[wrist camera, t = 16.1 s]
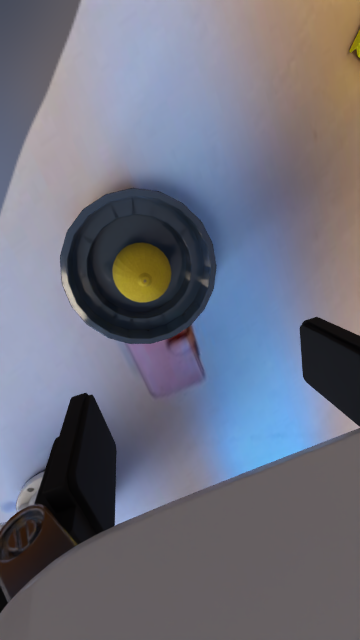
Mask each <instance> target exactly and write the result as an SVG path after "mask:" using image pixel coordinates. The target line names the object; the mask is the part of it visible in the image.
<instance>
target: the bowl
mask: <svg viewBox="0 0 360 640" xmlns="http://www.w3.org/2000/svg"><path fill="white" fill-rule="evenodd" d="M142 242H143V243H148V244H151V245H153V246H155V247H157V248H158V249H160V250H161V251H162V252H163V253H164V254H165V256H166V257H167V259H168V261H169V264H170V267H171V280H170V283H169V286H168V288H167V290H166V291H165V292H164V294H163V295H161V296H160V297H159V298H157V299H155V300H153V301H150V302H136V301H132V300H130V299H129V298H127V297H125V296H124V295H123V294H122V293H121V292H120V291H119V290H118V288H117V287H116V285H115V282H114V279H113V271H112V269H113V263H114V261H115V259H116V256H117V255H118V254H119V252H120V251H121V250H122V249H123V248H125V247H126V246H128V245H131V244H134V243H142ZM60 266H61V280H62V285H63V287H64V290H65V292H66V295H67V297H68V299H69V302H70V304H71V306H72V308H73V309H74V310H75V311H76V312H77V313H78V315H79V316H80V317H81V318H82V319H83V320H84V322H85V323H86V324H87V325H88V326H90V327H91V328H93V329H95V330H96V331H98V332H99V333H101V334H102V335H104V336H106V337H108V338H111V339H114V340H118V341H121V342H125V343H128V344H151V343H155V342H158V341H162V340H165V339H168V338H172V337H173V336H175V335H177V334H178V333H180V332H181V331H183V330H184V329H186V328H187V327H189V326H190V325H191V324H192V323H193V322H194V321H195V320H196V318H197V317H198V316H199V315H200V314H201V313H202V311H203V310H204V309H205V307H206V305H207V302H208V300H209V298H210V296H211V294H212V291H213V289H214V282H215V274H216V261H215V255H214V249H213V244H212V241H211V239H210V237H209V235H208V233H207V231H206V229H205V228H204V226H203V224H202V222H201V221H200V220H199V219H198V218H197V217H196V216H195V215H194V214H193V213H192V212H191V211H190V210H189V209H188V208H187V207H186V206H185V205H184V204H183V203H182V202H180V201H178V200H176V199H174V198H172V197H170V196H168V195H166V194H163V193H161V192H159V191H151V190H143V189H135V188H133V189H132V188H131V189H127V190H122V191H118V192H114V193H109V194H106V195H104V196H102V197H101V198H99V199H98V200H96V201H95V202H93V203H92V204H90V205H89V206H87V207H86V208H84V209H83V210H82V211H81V213H80V214H79V216H78V217H77V218H76V220H75V221H74V222H73V224H72V225H71V227H70V228H69V229H68V232H67V233H66V237H65V240H64V244H63V247H62V251H61V255H60Z"/></svg>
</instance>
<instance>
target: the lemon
mask: <svg viewBox="0 0 360 640" xmlns="http://www.w3.org/2000/svg"><path fill="white" fill-rule="evenodd" d="M112 271H113V279H114V282H115V285H116V287H117V288H118V290H119V291H120V292H121V293H122V294H123V295H124V296H125V297H127V298H129V299H130V300H132V301H136V302H150V301H153V300H155V299H157V298H159V297H160V296H161V295H163V294H164V292H165V291H166V290H167V288H168V286H169V283H170V280H171V267H170V264H169V261H168V259H167V257H166V256H165V254H164V253H163V252H162V251H161V250H160V249H158V248H157V247H155V246H153V245H151V244H148V243H143V242H142V243H134V244H131V245H128V246H126V247H125V248H123V249H122V250H121V251H120V252H119V254H118V255H117V256H116V259H115V261H114V263H113V269H112Z"/></svg>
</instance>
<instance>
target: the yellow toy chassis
mask: <svg viewBox="0 0 360 640" xmlns="http://www.w3.org/2000/svg"><path fill="white" fill-rule="evenodd" d="M355 49H356V50H357V56H358V57H359V58H360V30H359V32H358V34H357V36H356V38H355V40H354V42H353V44H352V46H351V48H350V51H349V52H350V53H351V52H352V51H354V50H355Z"/></svg>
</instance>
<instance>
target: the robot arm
mask: <svg viewBox="0 0 360 640" xmlns="http://www.w3.org/2000/svg"><path fill="white" fill-rule="evenodd" d="M300 339H301V354H302V369H303V377H304V379H305V381H306V382H307V383H308V384H309V385H310V386H312V387H313V388H314V389H315V390H316V391H318V392H319V393H320V394H321V395H322V396H324V397H325V398H326V399H327V400H328V401H330V402H331V403H332V404H333V405H334V406H336V407H337V408H338V409H339V410H340V411H342V412H343V413H344V414H345V415H346V416H348V417H349V418H350V419H351V420H352V421H354V422H355V423H356V424H357V425H358V426H360V336H359V335H356V334H354V333H352V332H350V331H348V330H345V329H343V328H341V327H339V326H336V325H334V324H332V323H330V322H327V321H325V320H323V319H321V318H318V317H315V318H312V319H309V320H305V321H304V322H303V323H302V325H301V326H300ZM116 453H117V451H116V444H115V441H114V439H113V437H112V435H111V433H110V431H109V428H108V426H107V424H106V422H105V420H104V418H103V415H102V413H101V411H100V409H99V407H98V405H97V402H96V400H95V398H94V396H93V395H88V394H87V393H84V394H80V395H77V396H74V397H72V398H71V400H70V403H69V406H68V410H67V413H66V416H65V419H64V423H63V426H62V429H61V432H60V436H59V437H57V438H56V439H55V441H54V444H53V447H52V450H51V453H50V456H49V459H48V462H47V465H46V469H45V471H44V472H41V473H39V474H38V475H36V476H34V477H33V478H31V479H30V480H29V481H28V482H27V483H26V484H25V485H24V487H23V488H22V490H21V492H20V494H19V496H18V499H17V503H16V510H17V513H16V514H15V515H14V516H12V517H11V518H10V519H9V520H8V521H7V522H5V523H0V640H360V428H359V429H356V430H354V431H351V432H348V433H346V434H343V435H341V436H338V437H335V438H333V439H330V440H327V441H325V442H322V443H320V444H317V445H315V446H312V447H309V448H307V449H304V450H302V451H299V452H297V453H294V454H291V455H289V456H286V457H284V458H281V459H279V460H276V461H274V462H271V463H268V464H266V465H263V466H261V467H258V468H256V469H253V470H251V471H248V472H245V473H243V474H240V475H238V476H235V477H233V478H230V479H228V480H225V481H223V482H220V483H218V484H215V485H213V486H210V487H208V488H205V489H203V490H200V491H198V492H195V493H193V494H190V495H188V496H185V497H183V498H180V499H178V500H175V501H173V502H170V503H168V504H165V505H163V506H160V507H158V508H156V509H153V510H151V511H148V512H146V513H144V514H141V515H139V516H136V517H134V518H132V519H129V520H127V521H125V522H122V523H120V524H118V525H116V526H114V525H115V489H116Z"/></svg>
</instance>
